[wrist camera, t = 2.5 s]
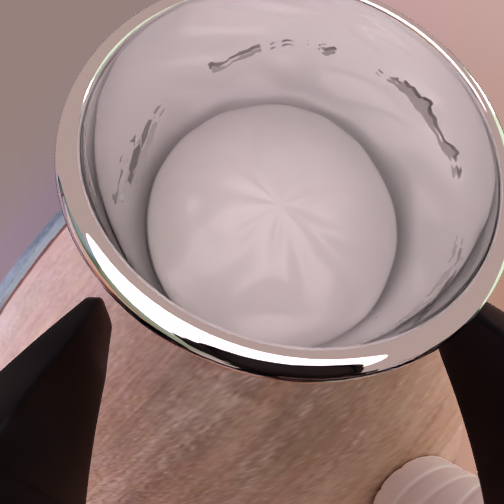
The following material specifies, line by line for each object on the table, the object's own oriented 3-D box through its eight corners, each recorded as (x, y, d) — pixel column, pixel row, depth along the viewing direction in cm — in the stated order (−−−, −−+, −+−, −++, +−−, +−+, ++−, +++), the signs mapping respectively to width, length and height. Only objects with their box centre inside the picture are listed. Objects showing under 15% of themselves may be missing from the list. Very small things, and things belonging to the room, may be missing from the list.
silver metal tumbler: (197, 345, 17) (30, 413, 2) (189, 225, 19) (97, -8, 4) (321, 332, 17) (560, 325, 3) (306, 215, 19) (427, -2, 4)
